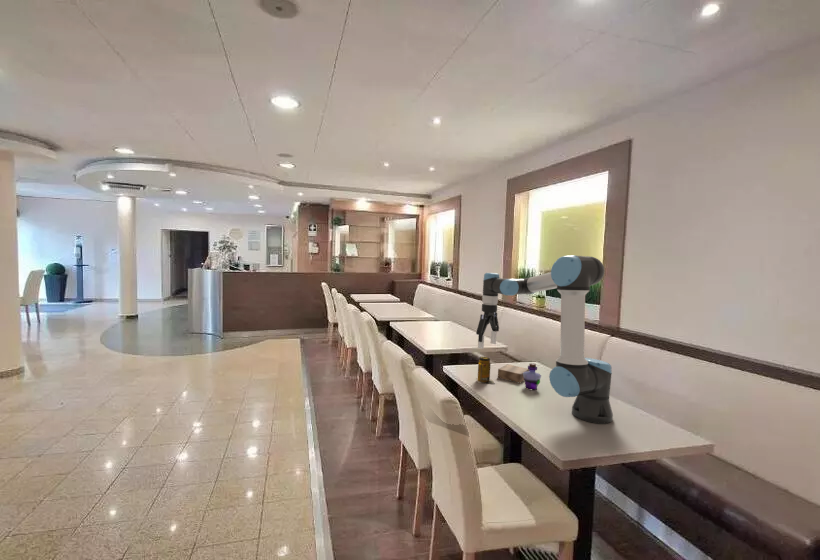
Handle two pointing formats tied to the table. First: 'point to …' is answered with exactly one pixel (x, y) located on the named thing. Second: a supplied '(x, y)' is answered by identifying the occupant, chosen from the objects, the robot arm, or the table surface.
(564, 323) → the robot arm
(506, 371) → the walnut block
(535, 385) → the potion bottle
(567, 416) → the table surface
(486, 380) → the condiment
